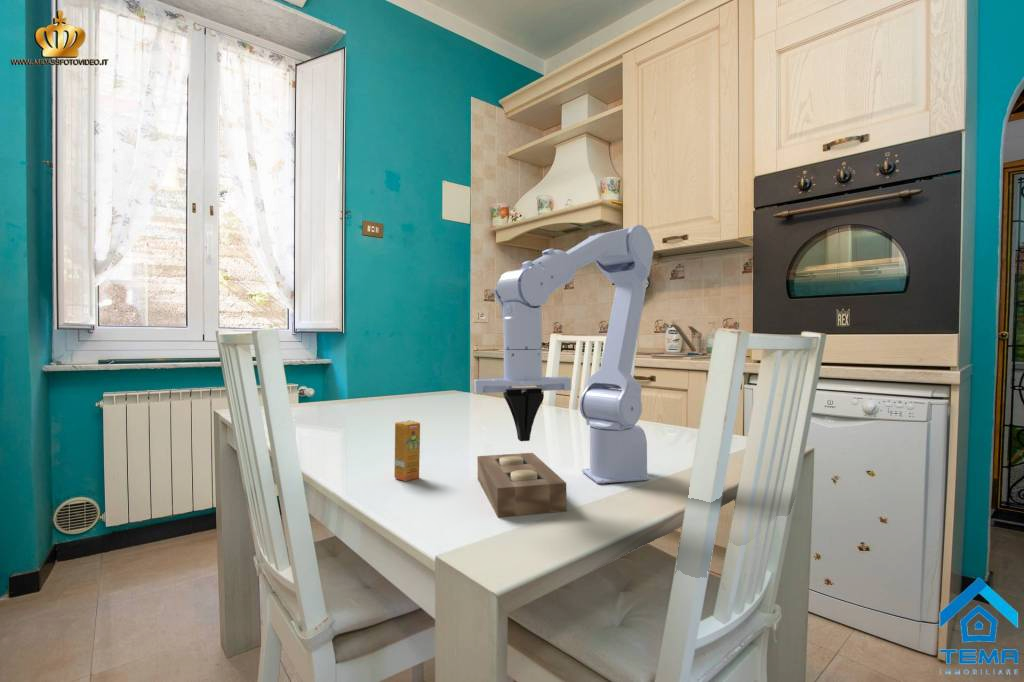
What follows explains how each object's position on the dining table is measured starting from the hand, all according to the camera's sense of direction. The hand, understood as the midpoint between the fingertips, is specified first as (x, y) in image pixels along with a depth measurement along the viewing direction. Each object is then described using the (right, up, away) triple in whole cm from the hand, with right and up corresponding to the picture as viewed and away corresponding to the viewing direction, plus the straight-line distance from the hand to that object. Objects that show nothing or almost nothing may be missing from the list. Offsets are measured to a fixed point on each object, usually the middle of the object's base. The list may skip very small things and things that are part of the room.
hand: (523, 439), depth 75 cm
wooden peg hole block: (-1, -9, +4) cm, 10 cm away
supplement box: (-20, -10, +13) cm, 26 cm away
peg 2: (0, -9, 0) cm, 9 cm away
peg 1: (-2, -9, +9) cm, 13 cm away
